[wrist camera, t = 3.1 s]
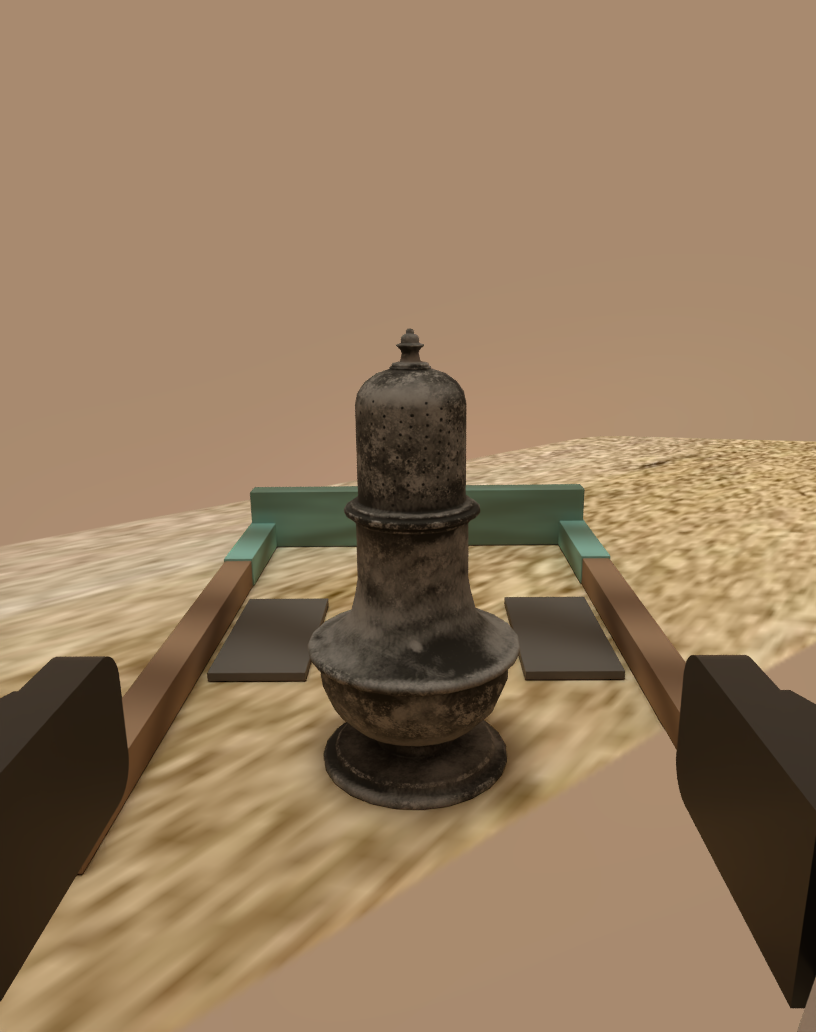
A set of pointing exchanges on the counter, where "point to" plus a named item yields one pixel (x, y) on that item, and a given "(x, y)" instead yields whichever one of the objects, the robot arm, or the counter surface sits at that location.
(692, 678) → the robot arm
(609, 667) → the track
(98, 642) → the counter surface
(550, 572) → the counter surface
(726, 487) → the counter surface
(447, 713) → the salt shaker
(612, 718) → the counter surface
